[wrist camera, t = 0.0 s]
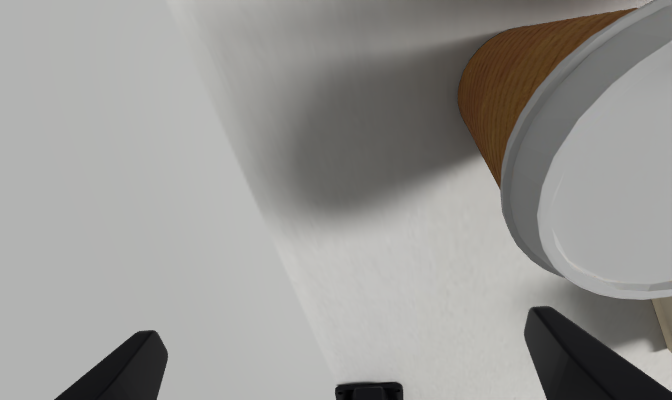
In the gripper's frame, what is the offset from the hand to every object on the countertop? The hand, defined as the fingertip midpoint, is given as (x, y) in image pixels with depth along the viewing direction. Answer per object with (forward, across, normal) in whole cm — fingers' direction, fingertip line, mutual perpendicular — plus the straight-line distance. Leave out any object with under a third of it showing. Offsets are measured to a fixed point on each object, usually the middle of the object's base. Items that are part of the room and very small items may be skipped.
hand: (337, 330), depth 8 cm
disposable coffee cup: (+15, -10, -2) cm, 18 cm away
